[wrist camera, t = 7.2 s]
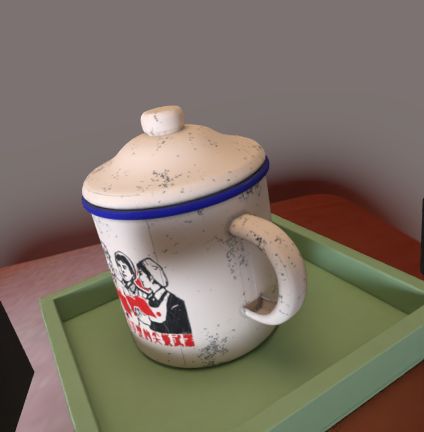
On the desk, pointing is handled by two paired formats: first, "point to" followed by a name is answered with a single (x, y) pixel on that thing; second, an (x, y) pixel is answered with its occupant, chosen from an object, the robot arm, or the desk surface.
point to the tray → (250, 362)
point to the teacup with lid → (194, 242)
